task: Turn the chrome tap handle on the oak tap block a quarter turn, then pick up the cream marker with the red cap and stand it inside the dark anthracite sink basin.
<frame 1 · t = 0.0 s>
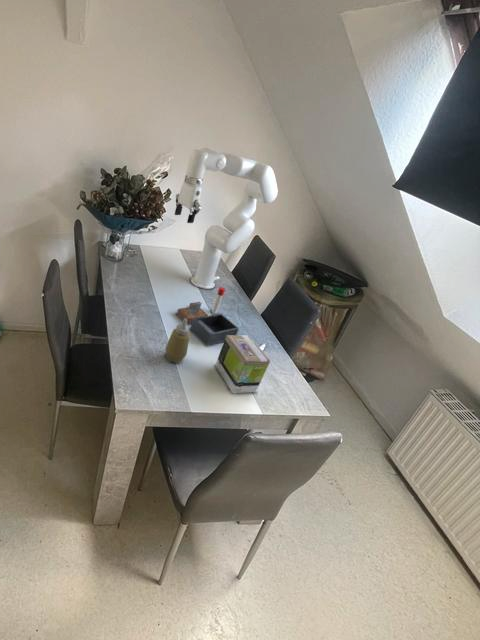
hand: (183, 218, 174), 37 cm above the table, tool pointing down, fingers open, 9 cm apart
tea box: (234, 378, 142), on the table
tap handle: (194, 307, 170), point 5 cm above the table, hinge at 0.0°
unicorn horn: (253, 357, 155), on the table
sink basin: (212, 334, 164), on the table
tap block: (191, 317, 173), on the table
marker: (214, 312, 180), on the table
squeeze bottle: (173, 358, 146), on the table
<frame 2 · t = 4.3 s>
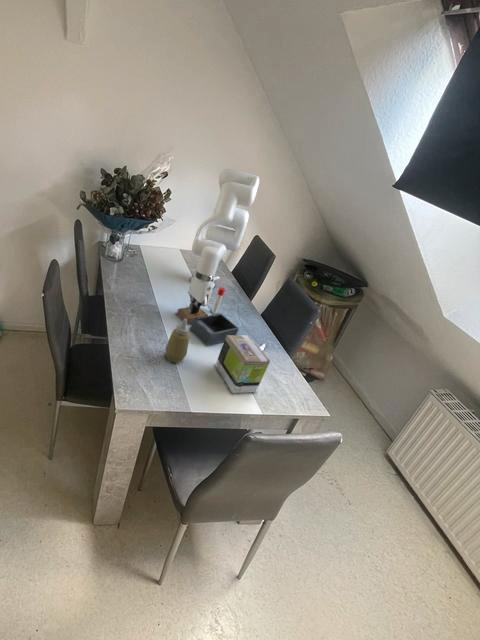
hand: (193, 311, 171), 3 cm above the table, tool pointing down, fingers closed, pressing on tap handle
tap handle: (194, 307, 170), point 5 cm above the table, hinge at 0.0°, touching gripper
everything else where it was.
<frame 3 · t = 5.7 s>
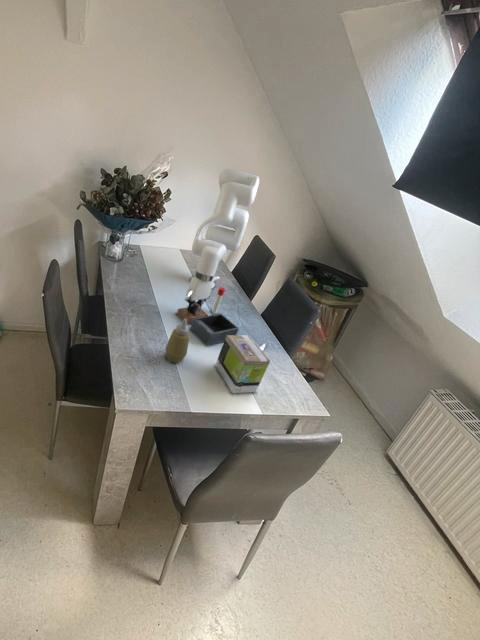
hand: (193, 311, 171), 3 cm above the table, tool pointing down, fingers open, 3 cm apart
tap handle: (194, 307, 170), point 5 cm above the table, hinge at 90.1°
everything else where it was.
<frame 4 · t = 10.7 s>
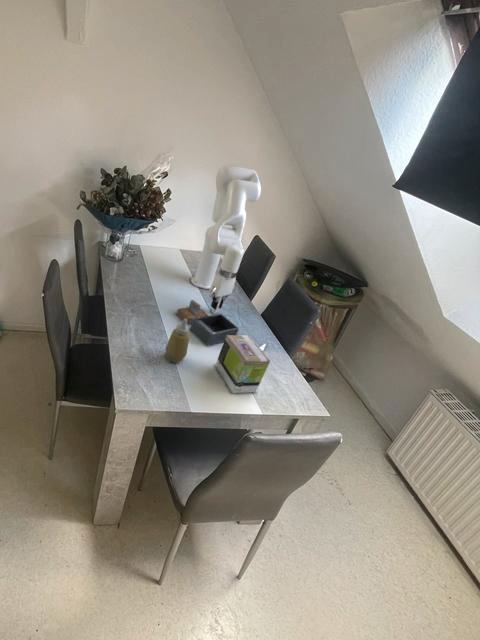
hand: (215, 307, 179), 3 cm above the table, tool pointing down, fingers closed on marker, 2 cm apart
marker: (214, 312, 180), on the table, touching gripper
everything else where it was.
when the fingers open (4 cm above the table, at t = 17.9 s): marker stays where it is, resting on sink basin.
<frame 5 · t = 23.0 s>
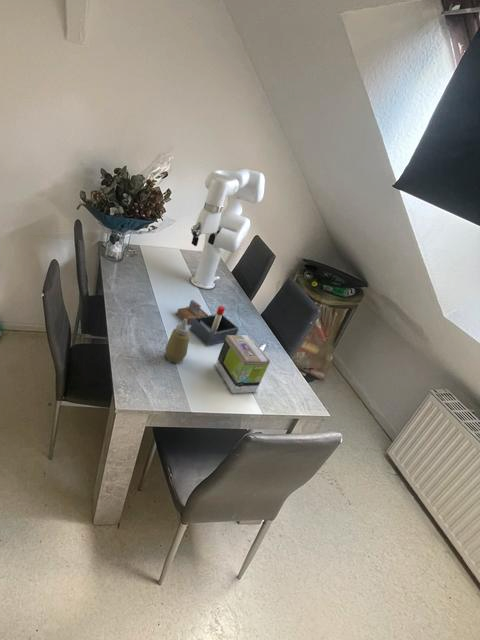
hand: (202, 244, 174), 28 cm above the table, tool pointing down, fingers open, 9 cm apart
marker: (212, 333, 164), point 1 cm above the table, touching sink basin
everything else where it was.
at the end: tap handle at +90° (first picture: +0°); marker inside the target area in the sink basin (0.1 cm from its centre), point 0.8 cm above the sink basin's base; the gripper is holding nothing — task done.
